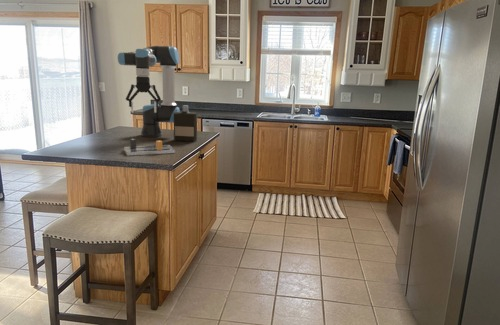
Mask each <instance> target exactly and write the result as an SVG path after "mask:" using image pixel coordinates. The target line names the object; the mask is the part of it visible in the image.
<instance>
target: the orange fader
mask: <svg viewBox="0 0 500 325" xmlns="http://www.w3.org/2000/svg"><path fill="white" fill-rule="evenodd" d="M162 145H163V141H162V140H155V146H156V149H157V150H162Z"/></svg>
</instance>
